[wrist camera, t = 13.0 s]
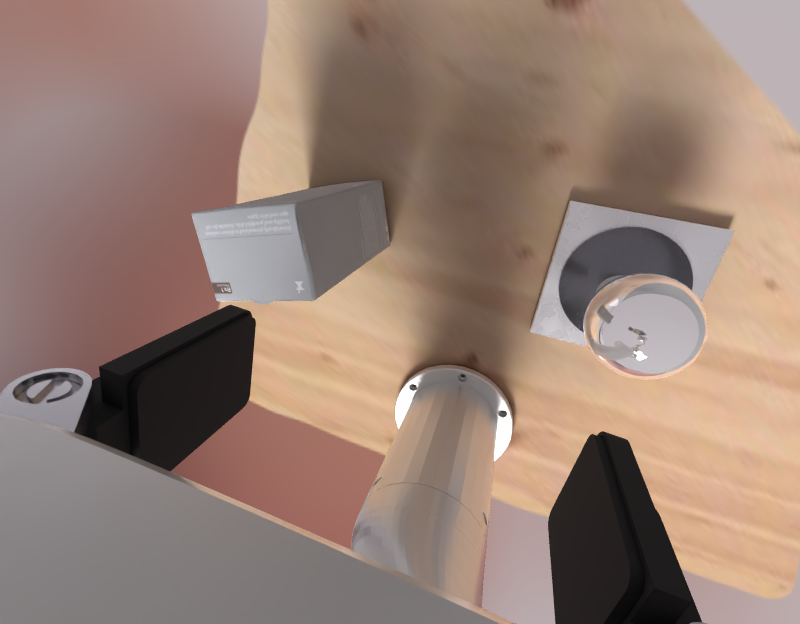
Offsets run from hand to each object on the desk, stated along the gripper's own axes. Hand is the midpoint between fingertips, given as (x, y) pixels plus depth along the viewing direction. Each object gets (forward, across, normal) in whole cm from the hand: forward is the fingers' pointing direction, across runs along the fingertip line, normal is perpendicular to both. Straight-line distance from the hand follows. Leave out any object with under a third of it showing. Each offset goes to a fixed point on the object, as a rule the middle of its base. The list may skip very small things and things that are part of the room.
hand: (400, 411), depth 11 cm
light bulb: (+28, -12, +1) cm, 30 cm away
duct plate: (+29, -12, +1) cm, 31 cm away
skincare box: (+29, +13, +2) cm, 32 cm away
